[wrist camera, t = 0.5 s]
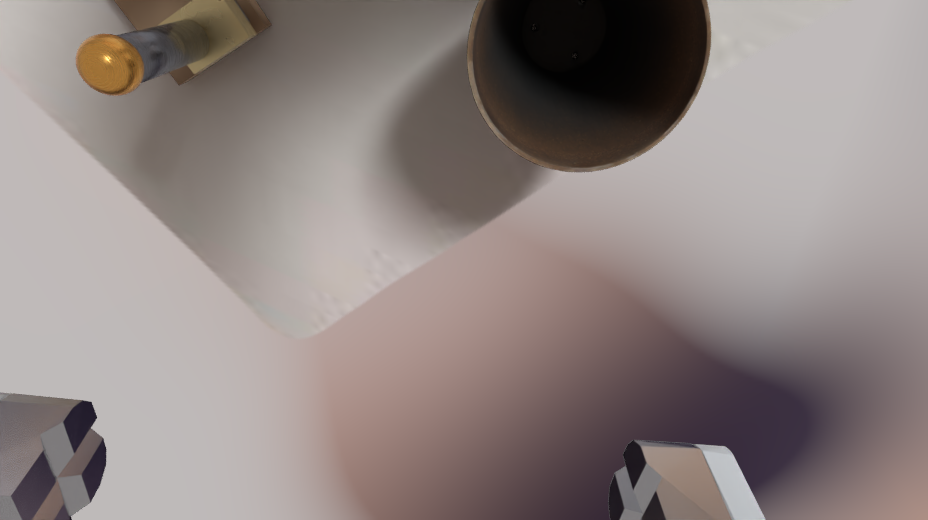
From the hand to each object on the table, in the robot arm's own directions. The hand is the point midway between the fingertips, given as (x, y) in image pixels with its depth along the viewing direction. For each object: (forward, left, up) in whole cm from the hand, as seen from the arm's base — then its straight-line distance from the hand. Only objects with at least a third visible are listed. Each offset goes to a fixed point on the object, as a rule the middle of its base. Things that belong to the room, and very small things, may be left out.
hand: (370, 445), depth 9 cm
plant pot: (-3, +7, -48) cm, 49 cm away
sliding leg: (+5, -21, -46) cm, 51 cm away
